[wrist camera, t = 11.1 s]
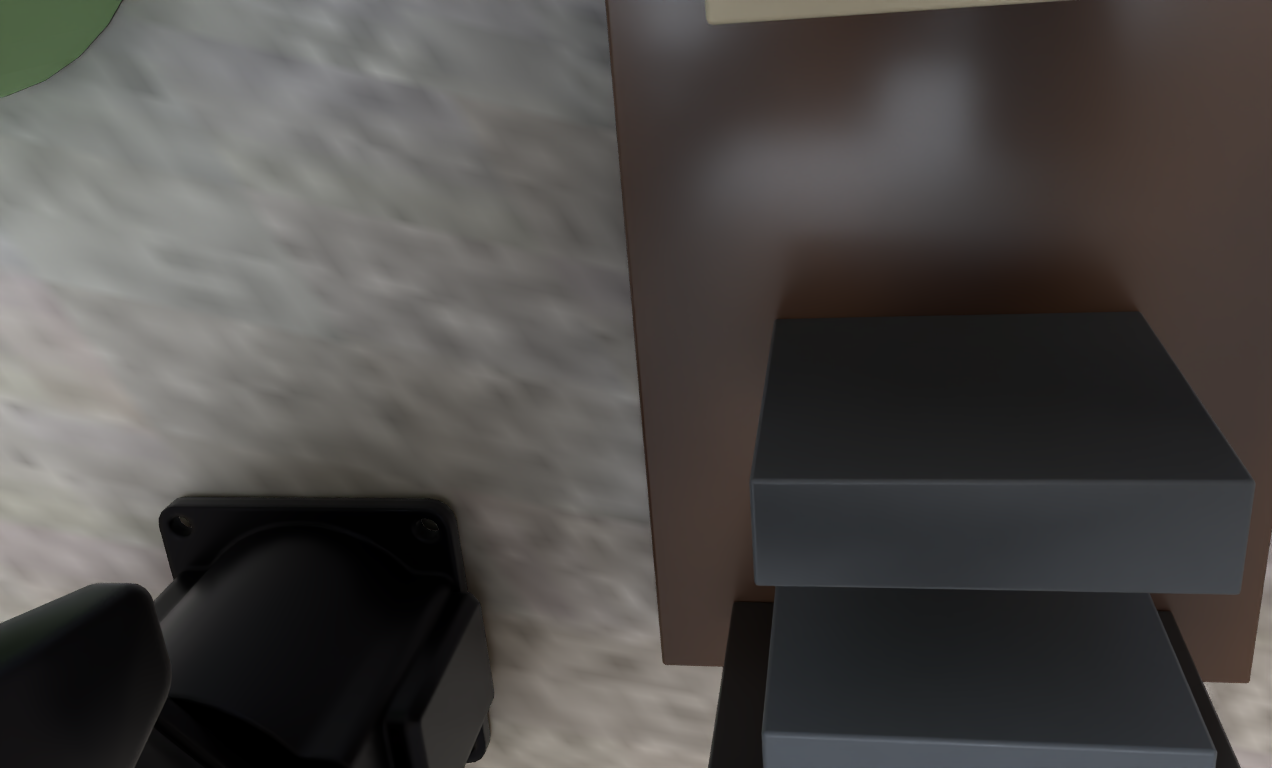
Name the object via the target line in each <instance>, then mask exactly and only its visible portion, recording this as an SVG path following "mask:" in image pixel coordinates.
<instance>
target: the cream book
mask: <svg viewBox="0 0 1272 768" xmlns="http://www.w3.org/2000/svg"><path fill="white" fill-rule="evenodd" d="M1053 1H1068V0H705V12H706V20H707V22H708V24H711V25H719V24H733V23H748V22H763V21H777V20H792V19H806V18H821V17H835V16H850V15H864V14H879V13H893V12H908V11H922V10H937V9H951V8H966V7H980V6H995V5H1010V4H1024V3H1039V2H1053Z"/></svg>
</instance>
